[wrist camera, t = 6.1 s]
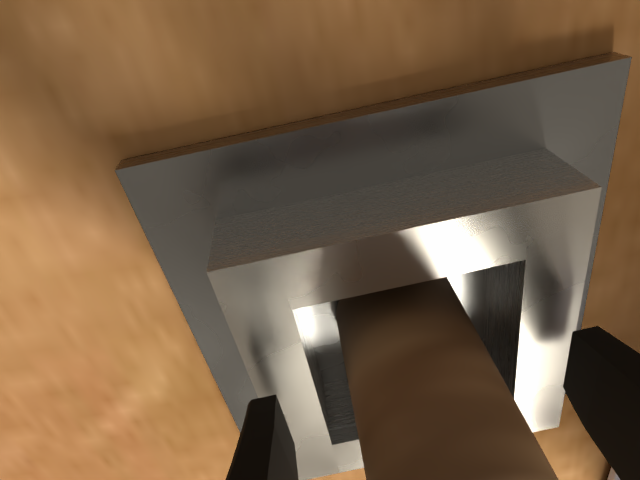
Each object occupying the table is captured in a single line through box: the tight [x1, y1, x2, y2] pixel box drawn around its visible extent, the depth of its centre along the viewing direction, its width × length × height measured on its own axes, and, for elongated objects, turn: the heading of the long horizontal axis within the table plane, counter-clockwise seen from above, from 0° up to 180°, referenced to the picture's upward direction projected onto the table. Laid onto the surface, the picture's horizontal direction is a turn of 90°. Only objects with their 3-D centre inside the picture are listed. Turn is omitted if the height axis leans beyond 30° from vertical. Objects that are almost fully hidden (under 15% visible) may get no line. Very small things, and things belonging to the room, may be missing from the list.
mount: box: [115, 52, 632, 480], centre depth 13 cm, size 12×12×3 cm
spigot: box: [336, 277, 558, 480], centre depth 11 cm, size 4×4×6 cm
